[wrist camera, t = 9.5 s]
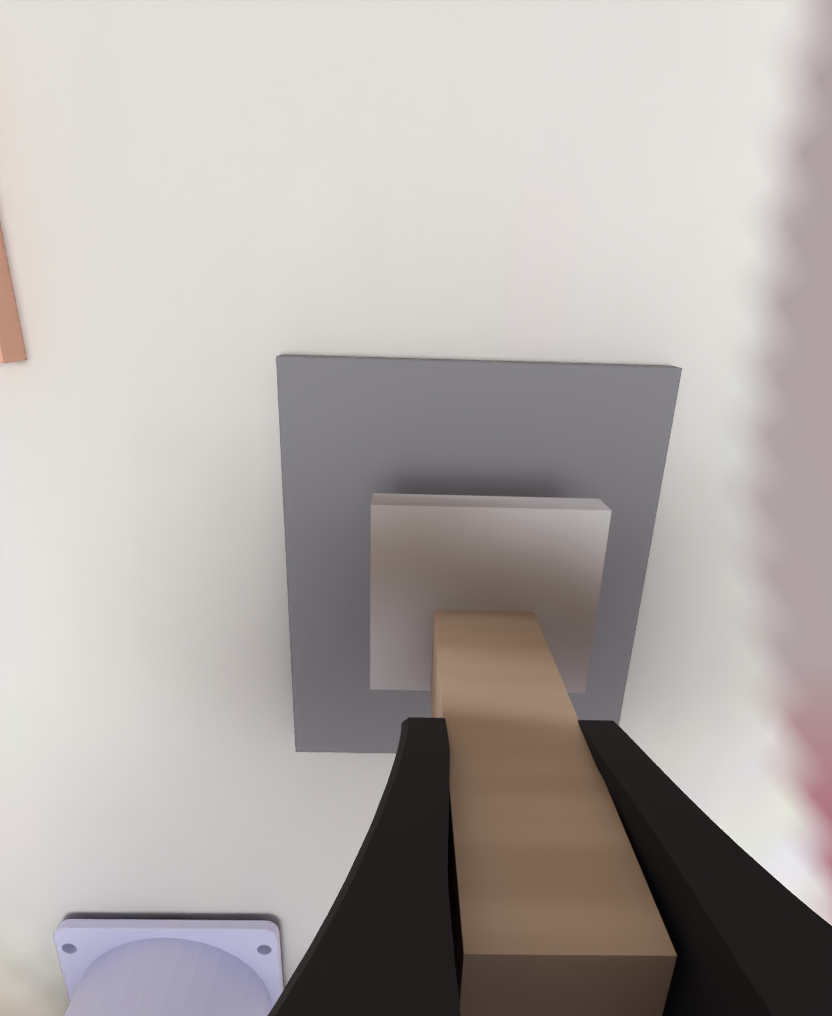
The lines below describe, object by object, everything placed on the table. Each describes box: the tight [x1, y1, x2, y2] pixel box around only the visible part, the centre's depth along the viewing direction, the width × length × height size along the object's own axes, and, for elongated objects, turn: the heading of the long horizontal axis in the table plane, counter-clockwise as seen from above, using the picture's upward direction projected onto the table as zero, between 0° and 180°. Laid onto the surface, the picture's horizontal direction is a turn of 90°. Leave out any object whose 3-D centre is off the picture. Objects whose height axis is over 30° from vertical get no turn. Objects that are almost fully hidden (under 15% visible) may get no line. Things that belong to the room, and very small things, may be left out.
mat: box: [276, 355, 682, 753], centre depth 17 cm, size 12×10×1 cm
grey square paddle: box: [370, 493, 677, 1016], centre depth 10 cm, size 5×5×8 cm
